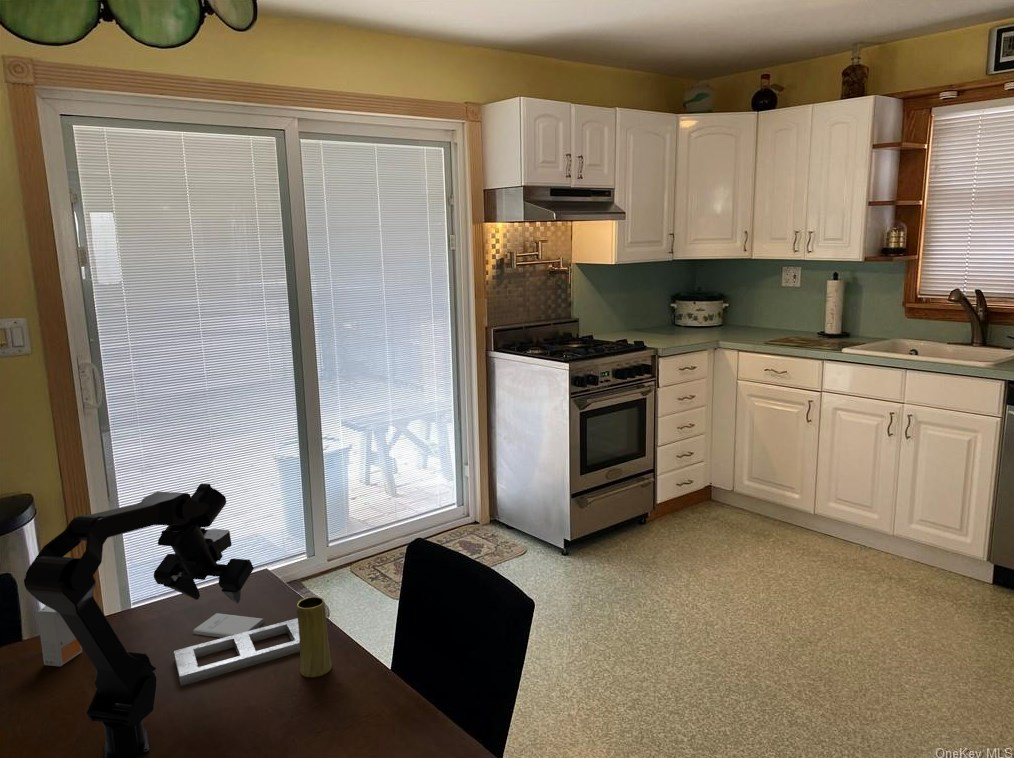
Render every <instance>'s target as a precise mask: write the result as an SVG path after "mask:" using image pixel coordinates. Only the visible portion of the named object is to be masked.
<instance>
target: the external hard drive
mask: <svg viewBox="0 0 1014 758" xmlns="http://www.w3.org/2000/svg"><path fill="white" fill-rule="evenodd" d="M264 623H265V619H264V618H261V617H251V616H242V615H233V614H227V613H226V614H224V613H220V612H219V613H218V612H216V613H215V614H213V615H212V616H210V617H209V618H208V619H207V620H205V621H203V622H202V623H201V624H199V625H198V626H197V627H195V628H194V629H193V635H200V636H206V637H214V638H219V639H221V638H224V637H228V636H232V635H236V634H239V633H243V632H247V631H251V630H255V629H258V628H260V626H262V625H263V624H264Z"/></svg>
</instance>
